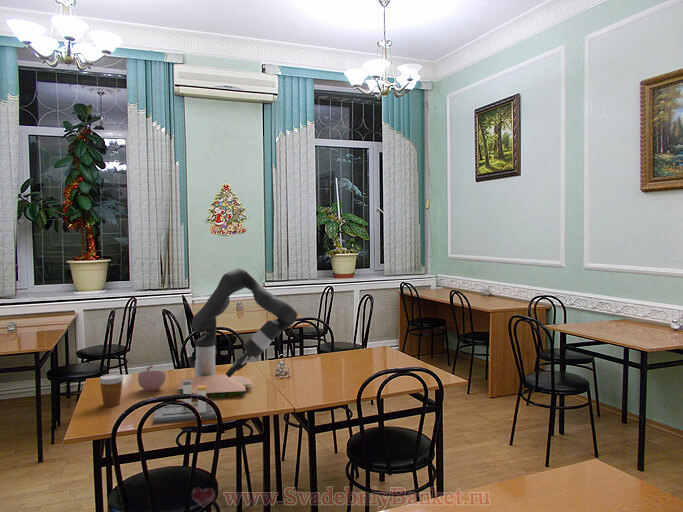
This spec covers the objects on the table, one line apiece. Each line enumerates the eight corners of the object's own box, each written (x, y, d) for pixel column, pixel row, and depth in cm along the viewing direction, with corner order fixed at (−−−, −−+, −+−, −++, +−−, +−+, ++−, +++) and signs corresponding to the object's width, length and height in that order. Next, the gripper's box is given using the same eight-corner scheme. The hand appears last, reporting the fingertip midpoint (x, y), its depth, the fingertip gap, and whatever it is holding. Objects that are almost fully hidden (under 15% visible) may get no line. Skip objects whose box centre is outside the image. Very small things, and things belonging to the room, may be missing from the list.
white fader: (191, 406, 211) (191, 379, 210) (191, 408, 208) (190, 381, 207) (183, 406, 210) (183, 380, 210) (183, 409, 207) (183, 382, 207)
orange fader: (206, 412, 204) (205, 385, 203) (206, 414, 201) (205, 387, 200) (198, 412, 203) (198, 385, 202) (198, 415, 200) (197, 387, 199)
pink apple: (166, 385, 244) (165, 361, 243) (165, 392, 232) (165, 368, 232) (139, 387, 240) (138, 363, 240) (137, 395, 229) (136, 370, 228)
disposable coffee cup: (99, 409, 210) (99, 380, 209) (98, 402, 218) (98, 375, 218) (124, 406, 214) (124, 377, 214) (123, 399, 223) (122, 372, 222)
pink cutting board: (251, 397, 227) (251, 379, 227) (174, 402, 221) (174, 383, 220) (250, 383, 250) (250, 366, 250) (180, 386, 243) (180, 369, 243)
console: (153, 423, 194) (153, 418, 194) (157, 410, 209) (157, 405, 209) (217, 418, 200) (217, 412, 200) (217, 405, 215) (217, 400, 215)
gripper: (266, 353, 200) (234, 386, 198) (263, 346, 213) (233, 377, 211) (252, 340, 199) (220, 373, 196) (250, 334, 212) (220, 365, 209)
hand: (227, 375), depth 203 cm, fingers closed
